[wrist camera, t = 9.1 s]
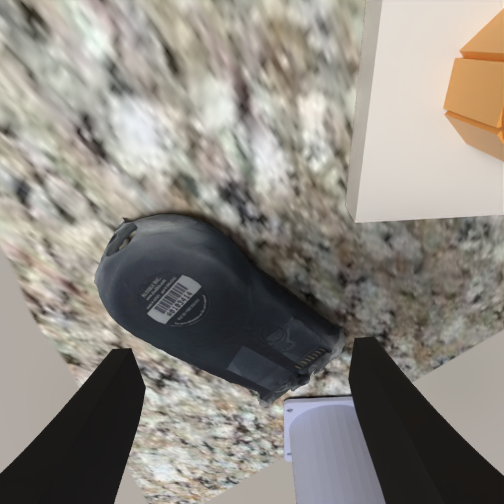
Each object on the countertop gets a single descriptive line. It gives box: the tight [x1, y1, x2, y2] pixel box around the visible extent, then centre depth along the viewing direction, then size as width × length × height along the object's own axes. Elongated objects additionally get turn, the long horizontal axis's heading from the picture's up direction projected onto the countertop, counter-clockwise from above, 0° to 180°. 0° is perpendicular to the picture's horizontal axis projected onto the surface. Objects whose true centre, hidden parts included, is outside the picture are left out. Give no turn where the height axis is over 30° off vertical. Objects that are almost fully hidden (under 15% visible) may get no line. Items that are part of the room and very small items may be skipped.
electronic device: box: [94, 214, 345, 407], centre depth 21 cm, size 9×6×15 cm
